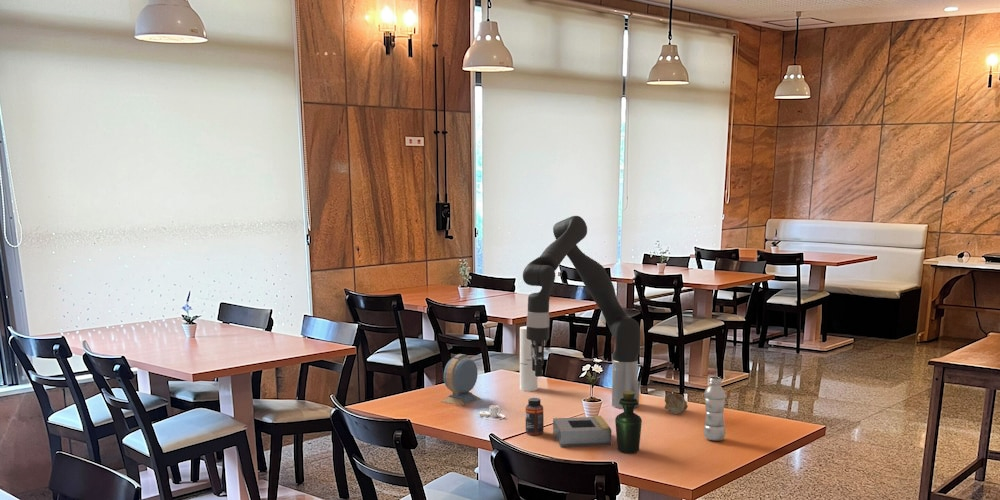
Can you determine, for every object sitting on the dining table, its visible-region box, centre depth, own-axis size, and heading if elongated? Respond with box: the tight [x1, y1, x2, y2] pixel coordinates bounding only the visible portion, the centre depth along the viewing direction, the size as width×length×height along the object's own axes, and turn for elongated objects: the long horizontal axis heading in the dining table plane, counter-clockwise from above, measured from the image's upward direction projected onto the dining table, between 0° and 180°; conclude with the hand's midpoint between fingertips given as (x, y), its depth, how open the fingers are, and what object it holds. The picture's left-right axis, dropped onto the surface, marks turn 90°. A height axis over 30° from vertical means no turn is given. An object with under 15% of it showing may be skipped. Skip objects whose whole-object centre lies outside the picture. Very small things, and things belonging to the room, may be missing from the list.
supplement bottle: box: [525, 397, 545, 436], centre depth 252 cm, size 6×6×11 cm
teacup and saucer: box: [479, 404, 506, 421], centre depth 271 cm, size 9×8×4 cm
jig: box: [552, 415, 613, 448], centre depth 245 cm, size 16×14×6 cm
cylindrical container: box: [519, 325, 538, 392], centre depth 308 cm, size 7×7×25 cm
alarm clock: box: [440, 353, 481, 406], centre depth 292 cm, size 14×10×18 cm
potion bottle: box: [614, 391, 643, 455], centre depth 234 cm, size 8×8×18 cm
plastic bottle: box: [703, 376, 726, 442], centre depth 244 cm, size 6×7×20 cm
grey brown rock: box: [664, 392, 689, 415], centre depth 276 cm, size 9×7×8 cm
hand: (536, 373), depth 254 cm, fingers open, 8 cm apart
